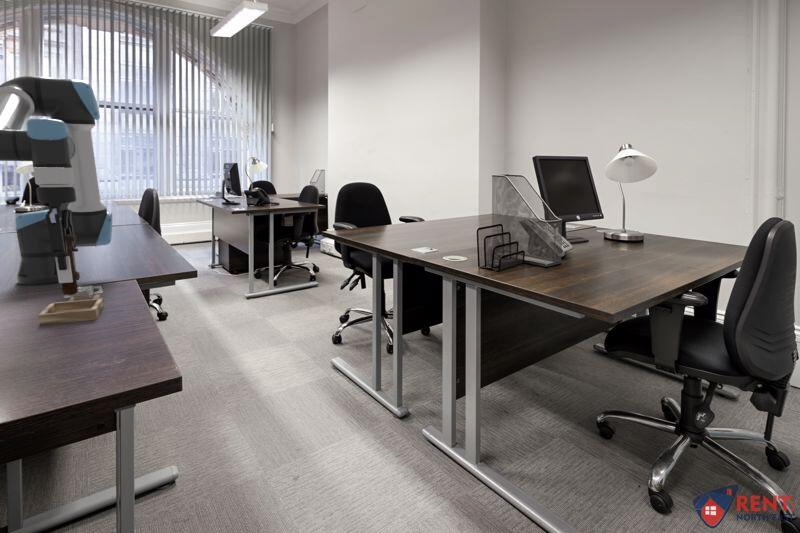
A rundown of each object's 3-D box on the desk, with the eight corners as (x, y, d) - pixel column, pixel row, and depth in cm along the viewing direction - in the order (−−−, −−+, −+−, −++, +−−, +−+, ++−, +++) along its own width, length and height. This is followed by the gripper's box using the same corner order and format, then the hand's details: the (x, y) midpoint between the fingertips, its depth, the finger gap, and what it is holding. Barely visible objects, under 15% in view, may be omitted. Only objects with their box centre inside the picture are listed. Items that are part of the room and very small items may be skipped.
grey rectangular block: (79, 298, 131) (77, 286, 130) (94, 297, 133) (93, 284, 132) (74, 304, 125) (72, 291, 125) (90, 303, 127) (88, 290, 126)
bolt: (88, 292, 118) (81, 234, 115) (73, 297, 113) (64, 236, 110) (68, 291, 118) (59, 233, 115) (51, 296, 113) (42, 236, 110)
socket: (62, 301, 129) (61, 292, 129) (110, 297, 134) (109, 288, 133) (39, 325, 109) (38, 315, 109) (96, 319, 114) (95, 309, 113)
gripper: (46, 185, 117) (59, 274, 121) (23, 187, 100) (39, 289, 105) (81, 185, 120) (93, 271, 124) (65, 187, 104) (78, 286, 108)
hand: (68, 279), depth 115 cm, fingers closed on bolt, 5 cm apart
